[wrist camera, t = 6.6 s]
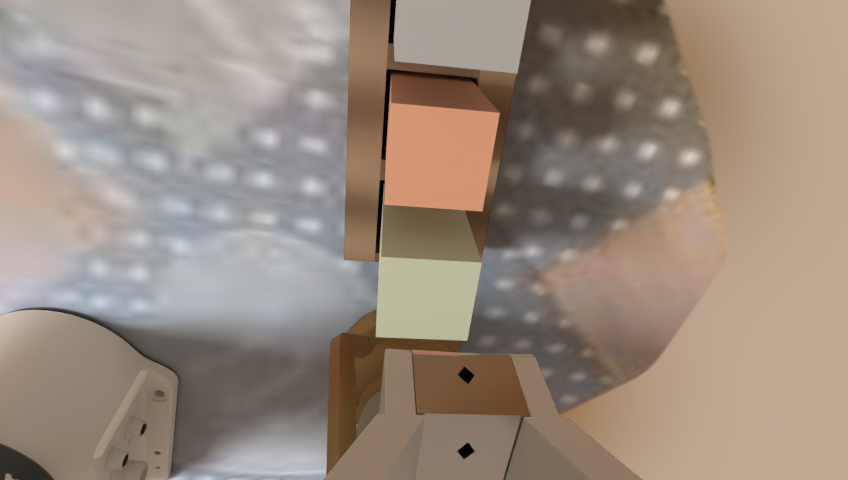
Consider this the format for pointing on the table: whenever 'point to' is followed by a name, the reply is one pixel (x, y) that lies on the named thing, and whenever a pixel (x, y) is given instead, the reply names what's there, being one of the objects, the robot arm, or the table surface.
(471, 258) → the sage block
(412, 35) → the slate block
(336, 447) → the lantern
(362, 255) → the walnut rack
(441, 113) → the terracotta block
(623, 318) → the table surface
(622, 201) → the table surface
